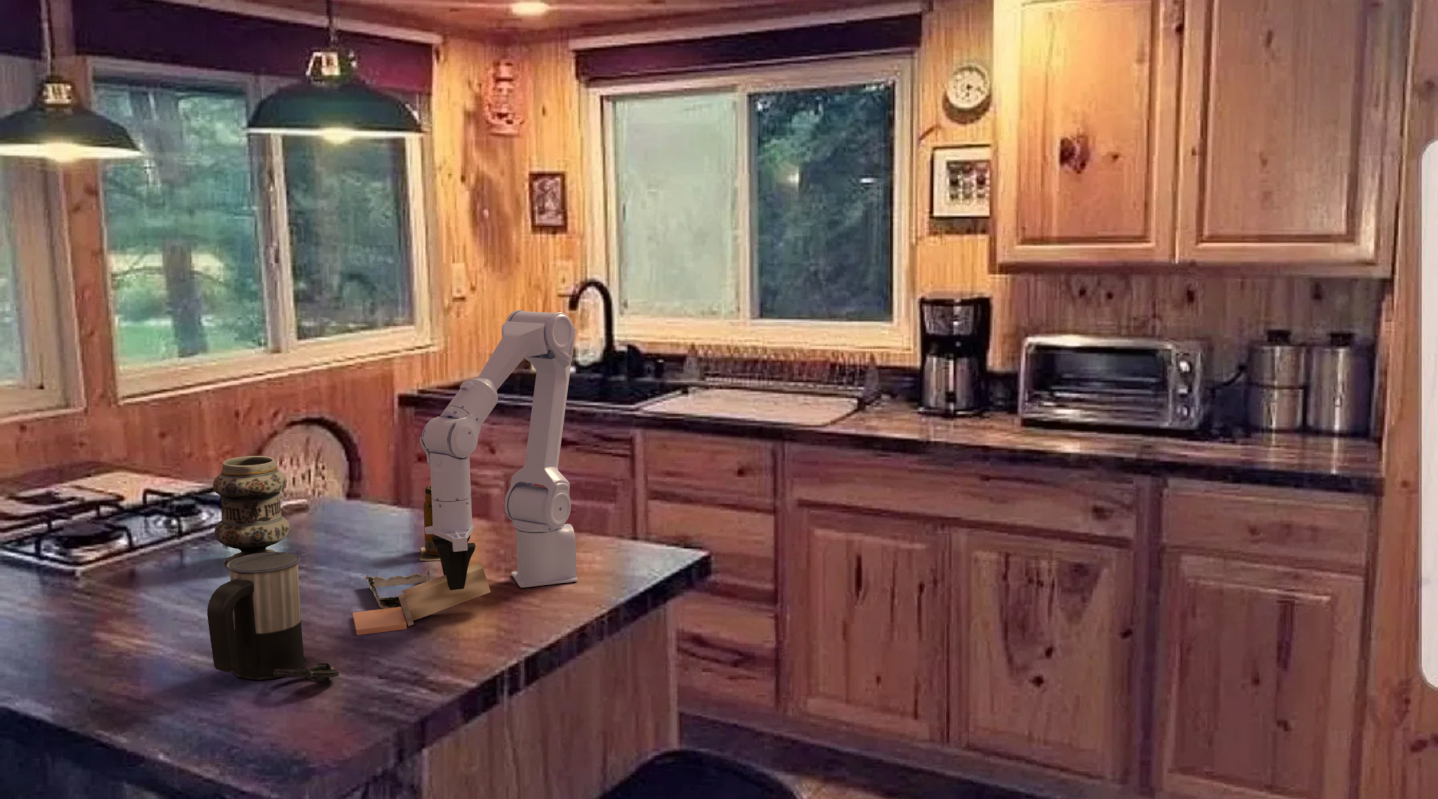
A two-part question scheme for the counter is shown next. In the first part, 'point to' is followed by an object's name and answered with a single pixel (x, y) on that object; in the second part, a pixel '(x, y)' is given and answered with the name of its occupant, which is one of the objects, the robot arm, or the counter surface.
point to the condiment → (430, 549)
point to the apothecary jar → (250, 505)
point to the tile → (379, 620)
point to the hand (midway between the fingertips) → (454, 585)
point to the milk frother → (261, 620)
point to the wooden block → (441, 594)
